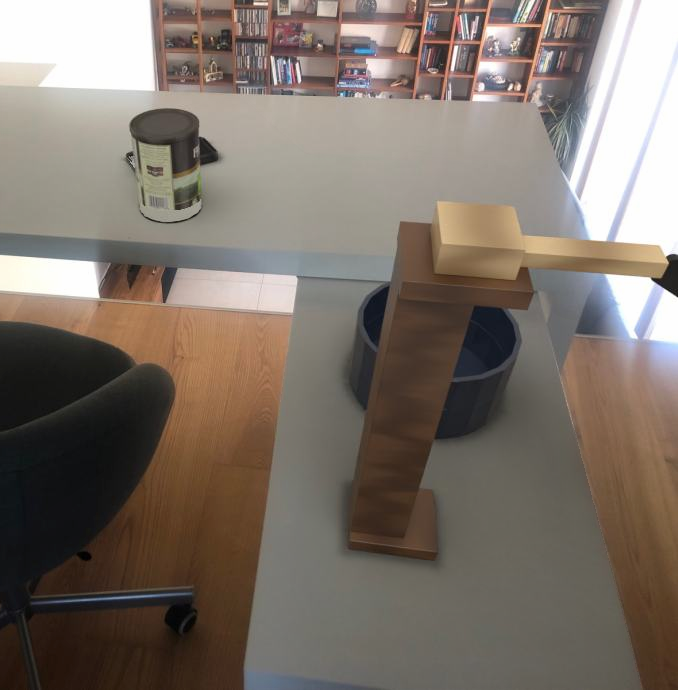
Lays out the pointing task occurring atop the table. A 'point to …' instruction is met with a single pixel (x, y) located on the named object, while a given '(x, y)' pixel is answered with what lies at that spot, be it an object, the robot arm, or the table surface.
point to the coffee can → (167, 158)
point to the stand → (414, 393)
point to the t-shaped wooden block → (525, 247)
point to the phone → (206, 152)
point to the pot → (471, 369)
